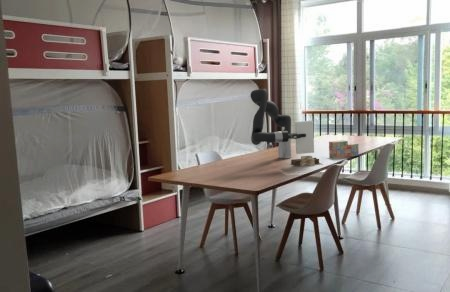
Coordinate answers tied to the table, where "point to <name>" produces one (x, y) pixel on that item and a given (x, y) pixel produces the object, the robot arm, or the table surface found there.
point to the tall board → (304, 142)
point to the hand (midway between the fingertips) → (304, 135)
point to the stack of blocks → (342, 149)
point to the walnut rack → (297, 161)
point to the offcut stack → (307, 161)
